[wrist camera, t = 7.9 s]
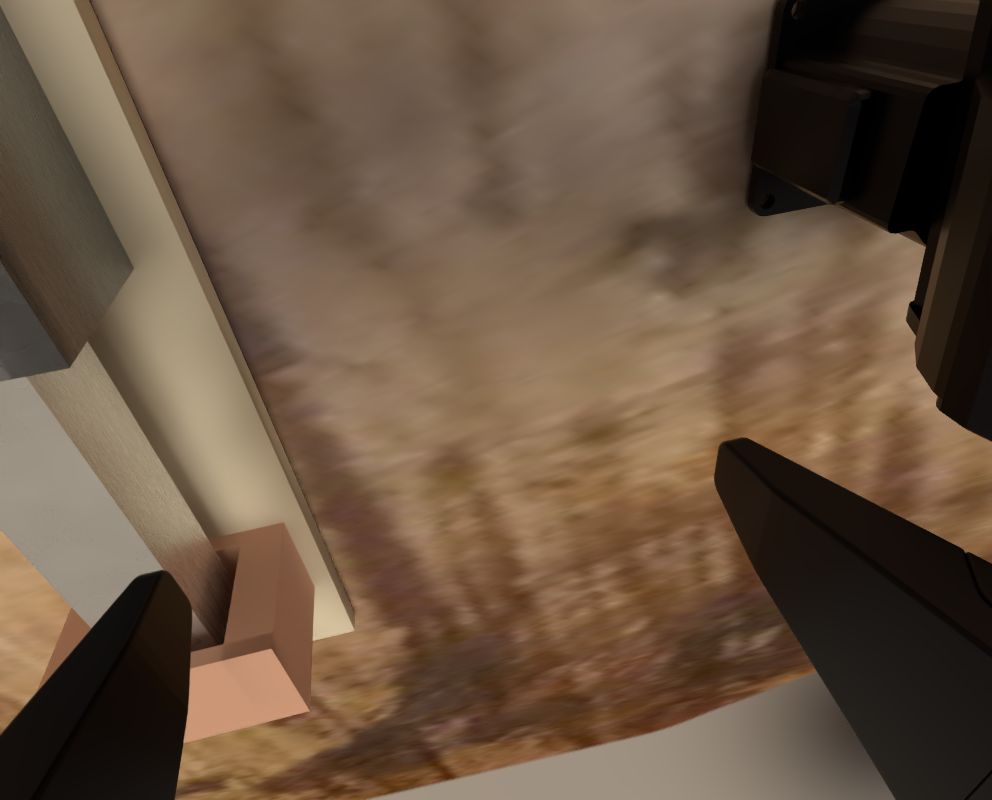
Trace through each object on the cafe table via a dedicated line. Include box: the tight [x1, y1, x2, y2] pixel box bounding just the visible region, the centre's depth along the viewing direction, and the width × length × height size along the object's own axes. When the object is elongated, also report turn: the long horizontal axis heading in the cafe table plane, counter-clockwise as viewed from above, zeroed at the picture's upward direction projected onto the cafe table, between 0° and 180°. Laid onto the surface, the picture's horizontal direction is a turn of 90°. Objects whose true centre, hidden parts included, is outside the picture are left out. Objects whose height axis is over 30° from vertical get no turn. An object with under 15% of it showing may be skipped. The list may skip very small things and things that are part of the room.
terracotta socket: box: [38, 522, 315, 743], centre depth 23 cm, size 7×4×6 cm, turn 96°
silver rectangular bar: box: [0, 341, 234, 652], centre depth 18 cm, size 3×17×3 cm, turn 6°
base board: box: [0, 0, 355, 641], centre depth 20 cm, size 9×28×1 cm, turn 6°
